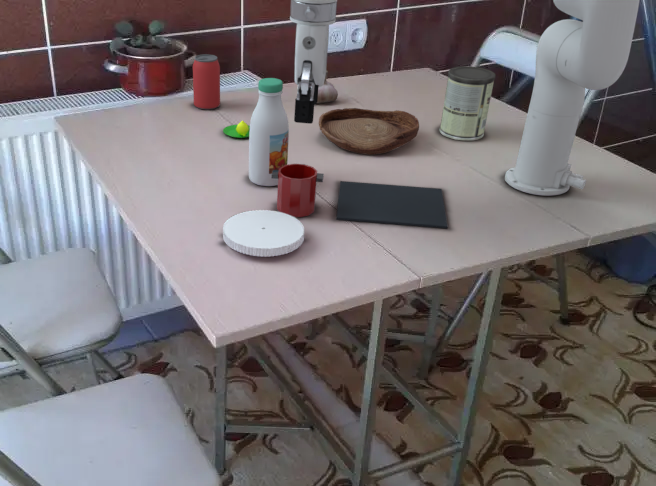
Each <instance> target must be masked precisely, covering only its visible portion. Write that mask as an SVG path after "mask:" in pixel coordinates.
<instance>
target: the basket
mask: <svg viewBox="0 0 656 486" xmlns="http://www.w3.org/2000/svg"><path fill="white" fill-rule="evenodd" d="M318 127H319V130H320V131H321V133H322V134H323V135H324V136H325V138H326V139H327V140H329V141H330V142H331V143H332V144H334V145H336V146H337V147H339V148H341V149H343V150H345V151H349V152H351V153H354V154H359V155H368V156H372V155H373V156H374V155H379V154H386V153H389V152H391V151H394V150H396V149H398V148H401V147H403V146H405V145H407V144H408V143H410V142H412V141H413V140H414V139H416V137H417V136H418V133H419V130H420V122H419V119H418V118H417V117H416V116H415V115H414V114H411V113H409V112H407V111H403V110H397V109H396V110H373V109H367V108H366V109H364V108H358V107H349V108H348V107H344V108H336V109H331V110H329V111H326V112H324V113H322V114H321V115H320V116H319V118H318Z"/></svg>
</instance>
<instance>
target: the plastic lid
mask: <svg viewBox="0 0 656 486" xmlns="http://www.w3.org/2000/svg"><path fill="white" fill-rule="evenodd" d="M222 239H223V241H224V243H225V245H227V247H229V248H231V249H232V250H234V251H236V252H239V253H240V254H243V255H247V256H248V255H249V256H253V257H260V258H261V257H265V258H267V257H269V258H270V257H274V256H276V257H278V256H281V255H283V256H284V255H285V254H286V255H287V254H288V253H291V252H294V251H296V250H297V249H298V248H300V247H301V246H302V245H303V243H304V240H305V227H304V225H303V223H302V222H301V221H300V220H299V218H297V217H293V216H291V215H289V214H286V213H283V212H279V211H276V210H272V209H271V210H270V209H268V210H267V209H254V210H247V211H244V212H243V211H242V212H238V213H236V214H234V215H232V216H230V217H229V218H228V219H227V220H226V221H225V222H224V223H223V225H222Z"/></svg>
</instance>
